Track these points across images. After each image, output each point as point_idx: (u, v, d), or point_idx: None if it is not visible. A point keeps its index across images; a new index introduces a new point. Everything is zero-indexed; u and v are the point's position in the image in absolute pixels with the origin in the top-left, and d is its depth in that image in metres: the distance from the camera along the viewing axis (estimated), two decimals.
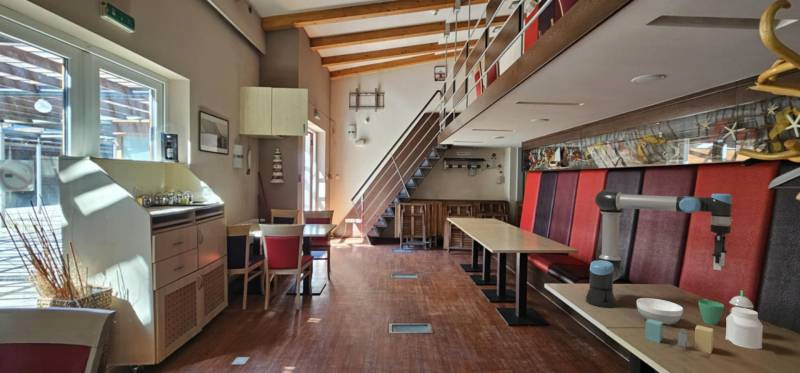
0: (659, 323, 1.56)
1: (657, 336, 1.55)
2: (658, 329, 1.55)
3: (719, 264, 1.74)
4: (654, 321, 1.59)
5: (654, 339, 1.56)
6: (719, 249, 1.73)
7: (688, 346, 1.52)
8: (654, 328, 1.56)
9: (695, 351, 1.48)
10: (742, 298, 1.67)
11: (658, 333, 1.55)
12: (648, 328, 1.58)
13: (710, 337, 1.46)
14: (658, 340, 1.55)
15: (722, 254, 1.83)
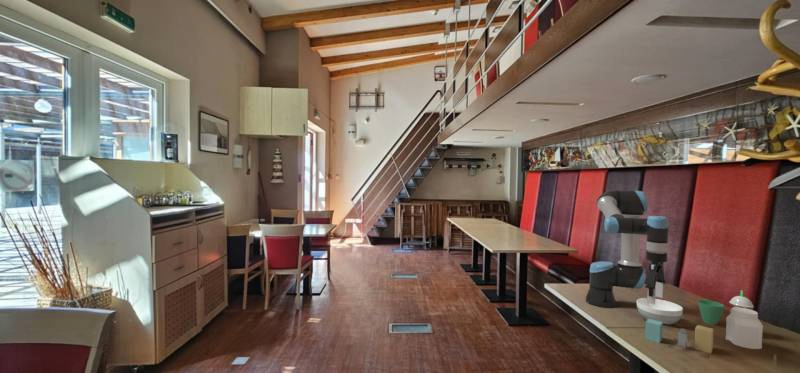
0: (659, 323, 1.56)
1: (657, 336, 1.55)
2: (658, 329, 1.55)
3: (653, 297, 1.52)
4: (654, 321, 1.59)
5: (654, 339, 1.56)
6: (652, 280, 1.51)
7: (688, 346, 1.52)
8: (654, 328, 1.56)
9: (695, 351, 1.48)
10: (742, 298, 1.67)
11: (658, 333, 1.55)
12: (648, 328, 1.58)
13: (710, 337, 1.46)
14: (658, 340, 1.55)
15: (660, 284, 1.62)
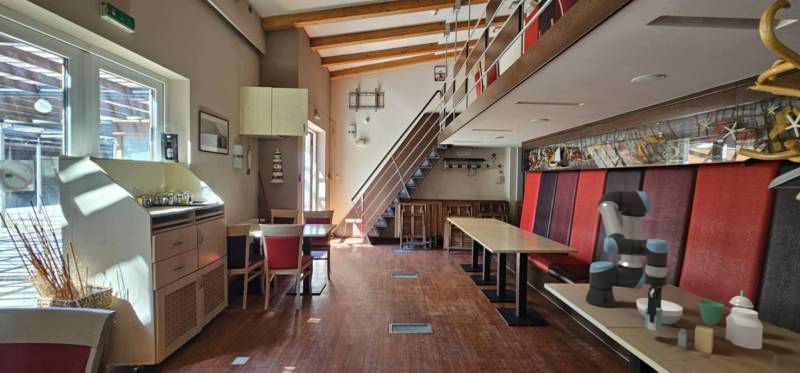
0: (659, 310, 1.56)
1: (657, 323, 1.56)
2: (658, 316, 1.55)
3: (654, 324, 1.56)
4: None
5: None
6: (653, 308, 1.54)
7: (688, 346, 1.52)
8: None
9: (695, 351, 1.48)
10: (742, 298, 1.67)
11: (658, 320, 1.55)
12: (648, 315, 1.58)
13: (710, 337, 1.46)
14: (658, 326, 1.56)
15: None
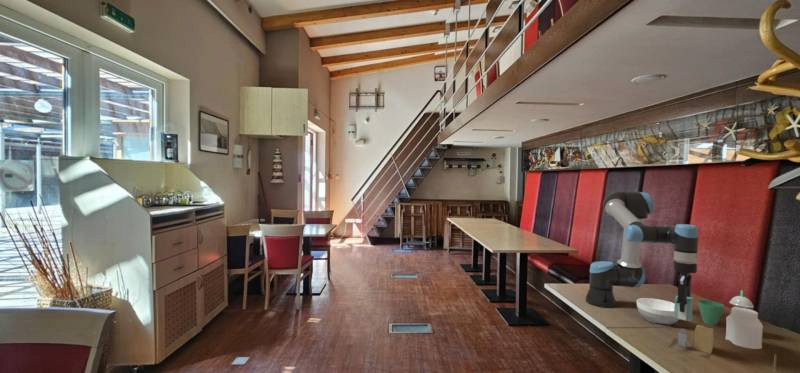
0: (689, 299, 1.49)
1: (687, 312, 1.48)
2: (689, 304, 1.47)
3: (684, 313, 1.48)
4: None
5: None
6: (683, 296, 1.46)
7: (688, 346, 1.52)
8: None
9: (695, 351, 1.48)
10: (742, 298, 1.67)
11: (689, 309, 1.47)
12: (677, 304, 1.50)
13: (710, 337, 1.46)
14: (689, 316, 1.47)
15: None
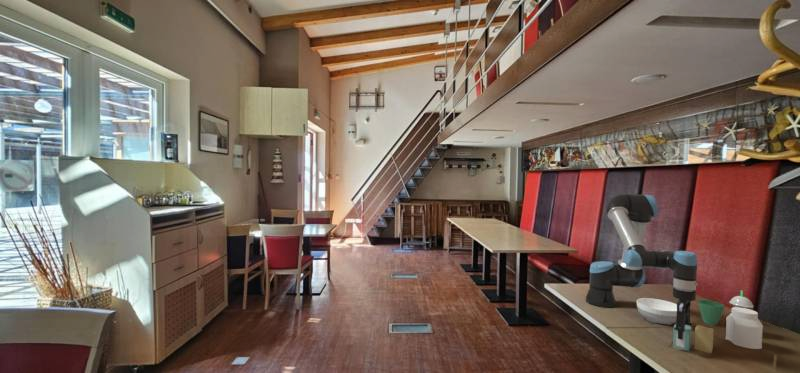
0: (688, 328, 1.49)
1: (686, 342, 1.48)
2: (687, 334, 1.48)
3: (682, 340, 1.47)
4: None
5: None
6: (682, 323, 1.45)
7: None
8: None
9: (695, 351, 1.48)
10: (742, 298, 1.67)
11: (687, 338, 1.48)
12: None
13: (710, 337, 1.46)
14: (687, 346, 1.48)
15: None
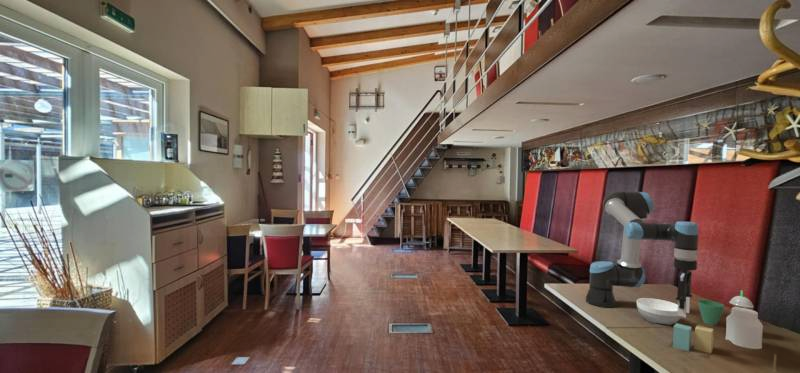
0: (688, 328, 1.49)
1: (686, 342, 1.48)
2: (687, 334, 1.48)
3: (684, 310, 1.48)
4: (682, 326, 1.52)
5: (683, 345, 1.49)
6: (683, 293, 1.46)
7: None
8: (683, 333, 1.49)
9: (695, 351, 1.48)
10: (742, 298, 1.67)
11: (687, 338, 1.48)
12: (676, 333, 1.50)
13: (710, 337, 1.46)
14: (687, 346, 1.48)
15: (687, 299, 1.52)
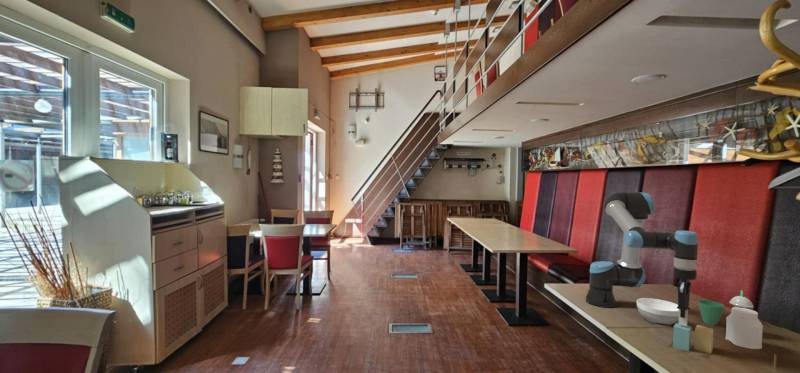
0: (688, 328, 1.49)
1: (686, 342, 1.48)
2: (687, 334, 1.48)
3: (685, 319, 1.50)
4: (682, 326, 1.52)
5: (683, 345, 1.49)
6: (684, 303, 1.47)
7: None
8: (683, 333, 1.49)
9: (695, 351, 1.48)
10: (742, 298, 1.67)
11: (687, 338, 1.48)
12: (676, 333, 1.50)
13: (710, 337, 1.46)
14: (687, 346, 1.48)
15: None
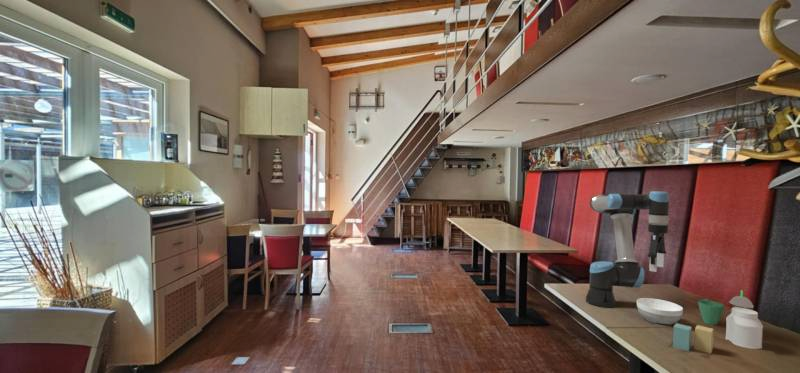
0: (688, 328, 1.49)
1: (686, 342, 1.48)
2: (687, 334, 1.48)
3: (655, 265, 1.65)
4: (682, 326, 1.52)
5: (683, 345, 1.49)
6: (654, 249, 1.64)
7: None
8: (683, 333, 1.49)
9: (695, 351, 1.48)
10: (742, 298, 1.67)
11: (687, 338, 1.48)
12: (676, 333, 1.50)
13: (710, 337, 1.46)
14: (687, 346, 1.48)
15: (661, 255, 1.75)
